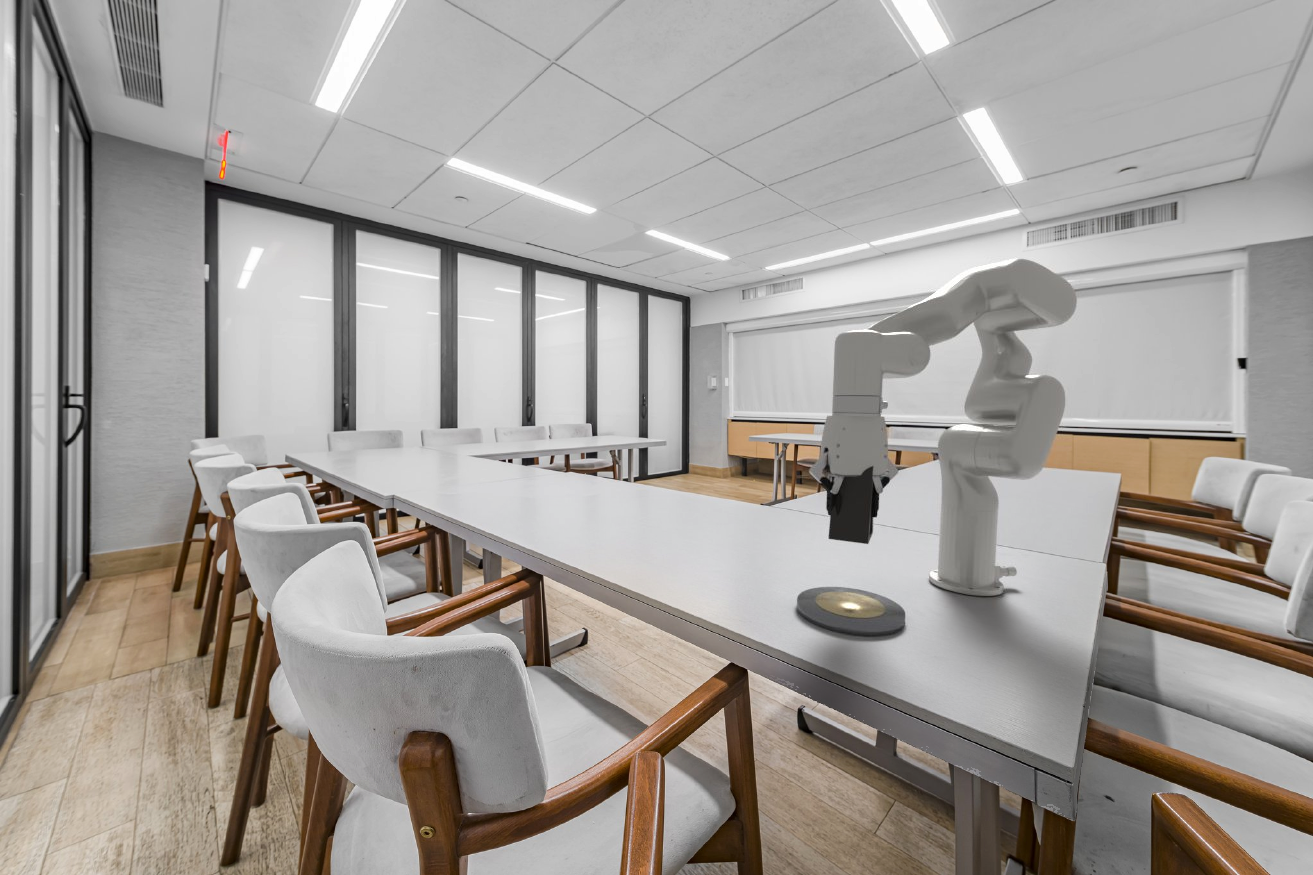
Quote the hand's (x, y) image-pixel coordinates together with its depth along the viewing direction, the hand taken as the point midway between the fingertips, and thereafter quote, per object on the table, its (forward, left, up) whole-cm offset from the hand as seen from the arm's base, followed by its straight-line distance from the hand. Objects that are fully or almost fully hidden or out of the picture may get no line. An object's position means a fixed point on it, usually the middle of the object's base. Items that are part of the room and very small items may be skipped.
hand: (852, 515), depth 85 cm
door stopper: (0, 0, -4) cm, 4 cm away
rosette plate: (0, 0, -17) cm, 17 cm away
